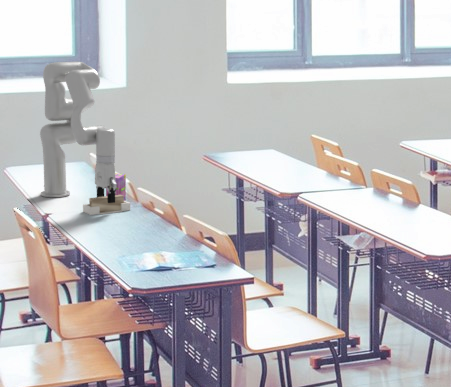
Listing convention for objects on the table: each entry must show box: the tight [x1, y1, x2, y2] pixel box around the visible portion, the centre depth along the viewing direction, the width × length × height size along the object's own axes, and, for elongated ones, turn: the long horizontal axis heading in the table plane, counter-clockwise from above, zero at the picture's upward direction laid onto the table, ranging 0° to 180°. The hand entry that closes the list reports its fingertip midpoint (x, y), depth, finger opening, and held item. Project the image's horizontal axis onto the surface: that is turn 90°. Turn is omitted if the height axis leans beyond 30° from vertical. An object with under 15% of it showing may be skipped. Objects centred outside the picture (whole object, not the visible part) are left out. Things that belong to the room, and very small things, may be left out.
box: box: [105, 172, 127, 201], centre depth 431 cm, size 10×6×12 cm, turn 168°
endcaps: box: [82, 200, 131, 216], centre depth 415 cm, size 8×18×3 cm, turn 123°
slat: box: [88, 195, 124, 213], centre depth 415 cm, size 3×14×6 cm, turn 123°
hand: (105, 200), depth 415 cm, fingers open, 9 cm apart
